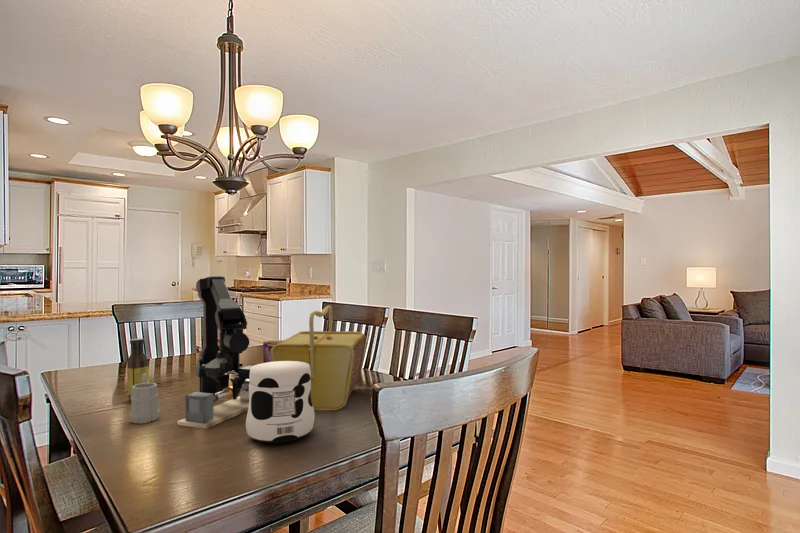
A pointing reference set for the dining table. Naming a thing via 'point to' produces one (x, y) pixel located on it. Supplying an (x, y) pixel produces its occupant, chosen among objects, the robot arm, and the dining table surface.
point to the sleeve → (245, 393)
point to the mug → (144, 402)
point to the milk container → (279, 402)
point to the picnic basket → (326, 361)
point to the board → (220, 413)
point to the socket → (199, 407)
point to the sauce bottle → (136, 364)
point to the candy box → (268, 349)
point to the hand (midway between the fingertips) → (229, 398)
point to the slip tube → (228, 392)
